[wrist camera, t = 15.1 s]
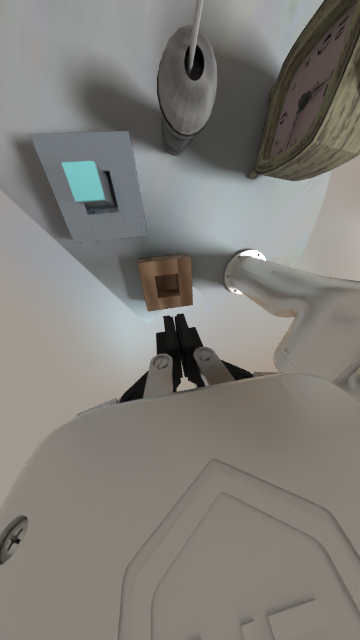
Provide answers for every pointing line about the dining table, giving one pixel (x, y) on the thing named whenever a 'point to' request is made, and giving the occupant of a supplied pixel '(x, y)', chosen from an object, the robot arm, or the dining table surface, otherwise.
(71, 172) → the plug
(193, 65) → the beverage cup
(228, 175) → the dining table surface
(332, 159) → the tabletop clock
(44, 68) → the dining table surface
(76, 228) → the socket block
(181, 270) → the wooden square hole block
